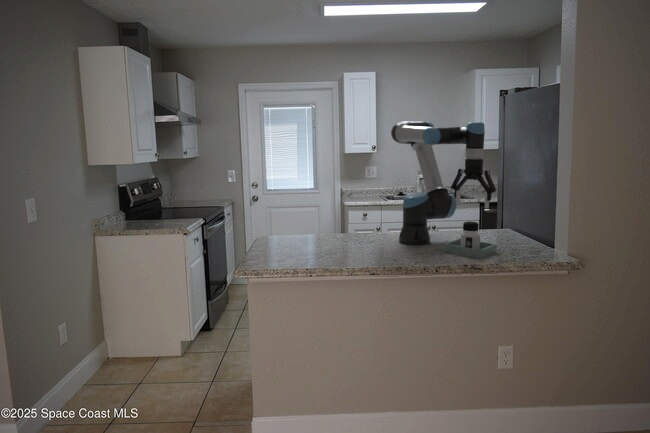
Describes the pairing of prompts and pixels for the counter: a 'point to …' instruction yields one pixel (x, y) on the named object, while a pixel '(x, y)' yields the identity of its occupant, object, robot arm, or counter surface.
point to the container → (470, 235)
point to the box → (470, 249)
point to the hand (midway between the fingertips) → (472, 206)
